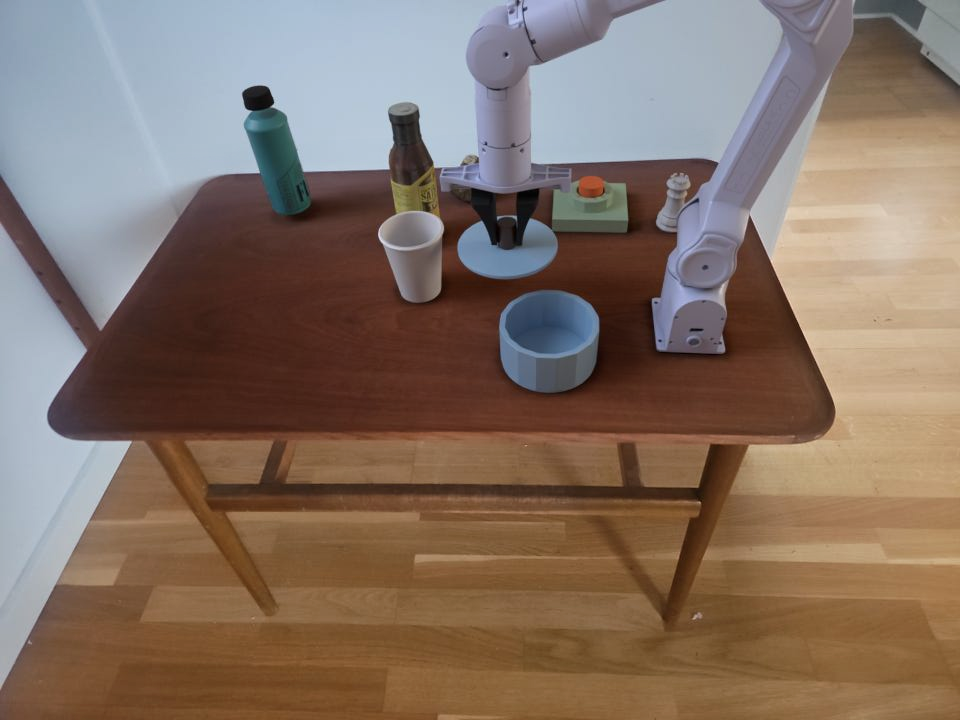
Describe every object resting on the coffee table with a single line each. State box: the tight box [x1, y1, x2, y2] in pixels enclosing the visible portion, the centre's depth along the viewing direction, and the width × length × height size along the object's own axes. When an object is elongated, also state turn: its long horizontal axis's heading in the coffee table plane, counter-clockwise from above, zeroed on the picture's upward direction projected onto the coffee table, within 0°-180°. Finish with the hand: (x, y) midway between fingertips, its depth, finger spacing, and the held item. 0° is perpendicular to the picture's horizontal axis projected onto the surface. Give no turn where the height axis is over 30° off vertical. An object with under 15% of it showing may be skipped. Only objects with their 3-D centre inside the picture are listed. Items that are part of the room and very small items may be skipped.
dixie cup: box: [377, 211, 445, 304], centre depth 85 cm, size 8×8×10 cm
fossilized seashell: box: [450, 154, 479, 202], centre depth 103 cm, size 8×7×10 cm
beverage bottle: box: [241, 84, 312, 216], centre depth 97 cm, size 6×7×20 cm
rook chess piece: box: [655, 172, 692, 234], centre depth 93 cm, size 4×4×8 cm
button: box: [578, 175, 604, 198], centre depth 96 cm, size 4×4×2 cm
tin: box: [498, 289, 600, 394], centre depth 77 cm, size 11×11×6 cm
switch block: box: [551, 179, 629, 234], centre depth 98 cm, size 10×11×4 cm
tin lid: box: [457, 215, 559, 280], centre depth 78 cm, size 12×12×4 cm
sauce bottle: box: [387, 101, 441, 220], centre depth 90 cm, size 6×6×20 cm
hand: (507, 240), depth 78 cm, fingers closed on tin lid, 2 cm apart
